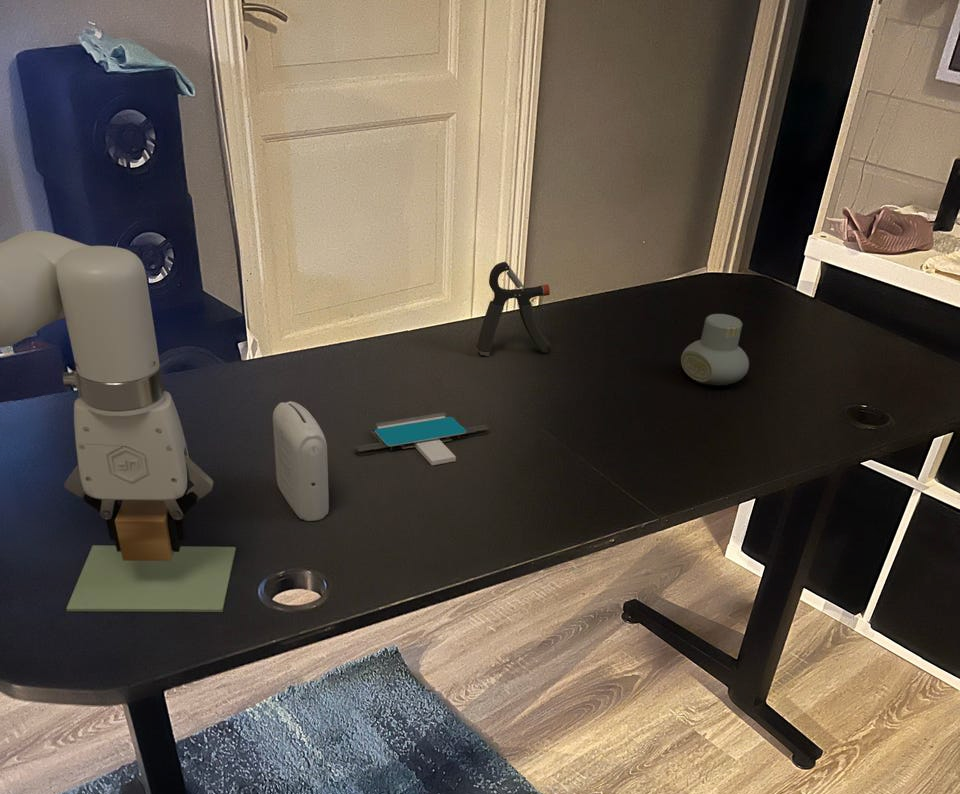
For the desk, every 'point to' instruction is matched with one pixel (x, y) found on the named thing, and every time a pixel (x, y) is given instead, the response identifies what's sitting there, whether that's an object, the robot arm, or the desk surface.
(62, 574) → the desk surface
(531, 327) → the hand grip strengthener
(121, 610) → the mat
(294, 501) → the photo printer
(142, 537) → the block
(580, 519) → the desk surface
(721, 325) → the air freshener
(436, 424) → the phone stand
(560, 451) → the desk surface
